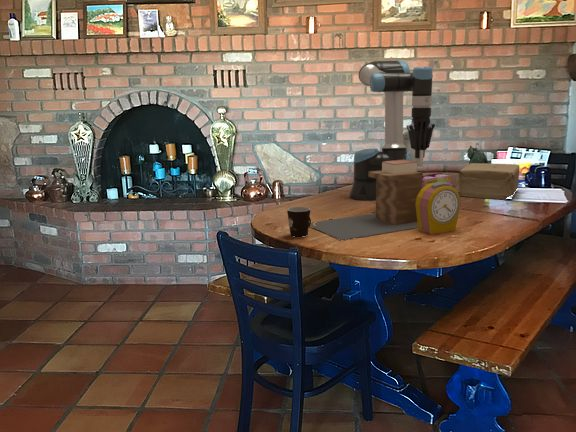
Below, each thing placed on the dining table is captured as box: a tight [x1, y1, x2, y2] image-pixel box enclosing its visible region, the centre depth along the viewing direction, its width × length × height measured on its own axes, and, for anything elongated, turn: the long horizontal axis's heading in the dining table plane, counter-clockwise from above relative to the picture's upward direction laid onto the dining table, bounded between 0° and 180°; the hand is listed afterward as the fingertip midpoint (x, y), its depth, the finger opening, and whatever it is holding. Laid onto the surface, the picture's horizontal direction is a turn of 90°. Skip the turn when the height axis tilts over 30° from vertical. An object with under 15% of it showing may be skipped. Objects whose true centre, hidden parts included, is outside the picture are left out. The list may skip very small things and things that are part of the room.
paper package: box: [458, 163, 520, 201], centre depth 279 cm, size 27×26×14 cm
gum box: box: [422, 172, 453, 188], centre depth 255 cm, size 24×8×14 cm, turn 125°
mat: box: [310, 212, 418, 241], centre depth 225 cm, size 28×44×1 cm, turn 117°
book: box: [382, 160, 418, 174], centre depth 226 cm, size 8×11×4 cm
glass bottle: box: [403, 130, 419, 168], centre depth 318 cm, size 10×10×28 cm
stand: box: [368, 170, 424, 225], centre depth 228 cm, size 14×16×20 cm
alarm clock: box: [415, 182, 462, 235], centre depth 213 cm, size 15×8×18 cm, turn 114°
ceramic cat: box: [466, 142, 489, 165], centre depth 323 cm, size 20×6×20 cm, turn 6°
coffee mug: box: [286, 206, 312, 238], centre depth 208 cm, size 12×9×10 cm
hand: (419, 166), depth 230 cm, fingers closed
